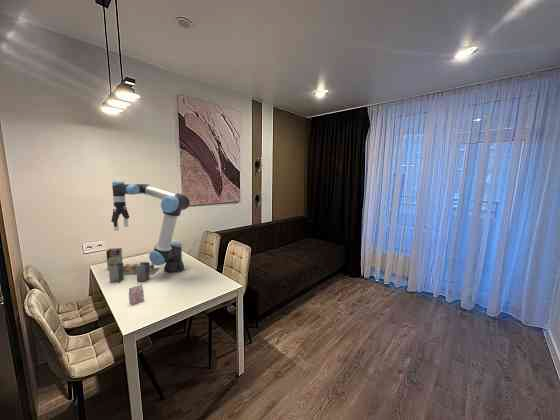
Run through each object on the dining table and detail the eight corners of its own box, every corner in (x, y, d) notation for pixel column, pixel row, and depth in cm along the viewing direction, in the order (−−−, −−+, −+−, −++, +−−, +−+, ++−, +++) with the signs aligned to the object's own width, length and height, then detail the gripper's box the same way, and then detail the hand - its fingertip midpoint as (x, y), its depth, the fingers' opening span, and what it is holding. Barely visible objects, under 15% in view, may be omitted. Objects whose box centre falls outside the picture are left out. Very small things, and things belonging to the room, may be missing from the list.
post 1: (124, 278, 168) (123, 262, 166) (118, 283, 160) (117, 266, 159) (115, 278, 167) (114, 262, 165) (109, 283, 160) (108, 266, 158)
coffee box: (107, 270, 181) (105, 251, 179) (110, 267, 187) (108, 248, 185) (120, 269, 184) (119, 250, 181) (123, 266, 190) (121, 247, 187)
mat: (159, 268, 188) (159, 267, 187) (153, 273, 177) (153, 273, 177) (120, 269, 183) (120, 268, 183) (112, 275, 173) (112, 274, 173)
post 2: (150, 277, 170) (149, 262, 168) (145, 282, 163) (144, 265, 161) (141, 278, 169) (140, 262, 167) (136, 282, 162) (135, 266, 160)
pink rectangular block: (129, 302, 136) (128, 287, 135) (141, 298, 142) (140, 283, 140) (131, 305, 134) (130, 289, 133) (144, 300, 139) (143, 285, 138)
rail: (153, 269, 184) (153, 263, 183) (151, 271, 179) (151, 265, 178) (122, 270, 181) (121, 264, 180) (118, 272, 176) (118, 266, 175)
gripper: (123, 199, 185) (125, 225, 188) (103, 203, 160) (106, 232, 163) (133, 199, 186) (134, 225, 189) (115, 203, 161) (117, 232, 164)
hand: (121, 228), depth 176 cm, fingers open, 13 cm apart
